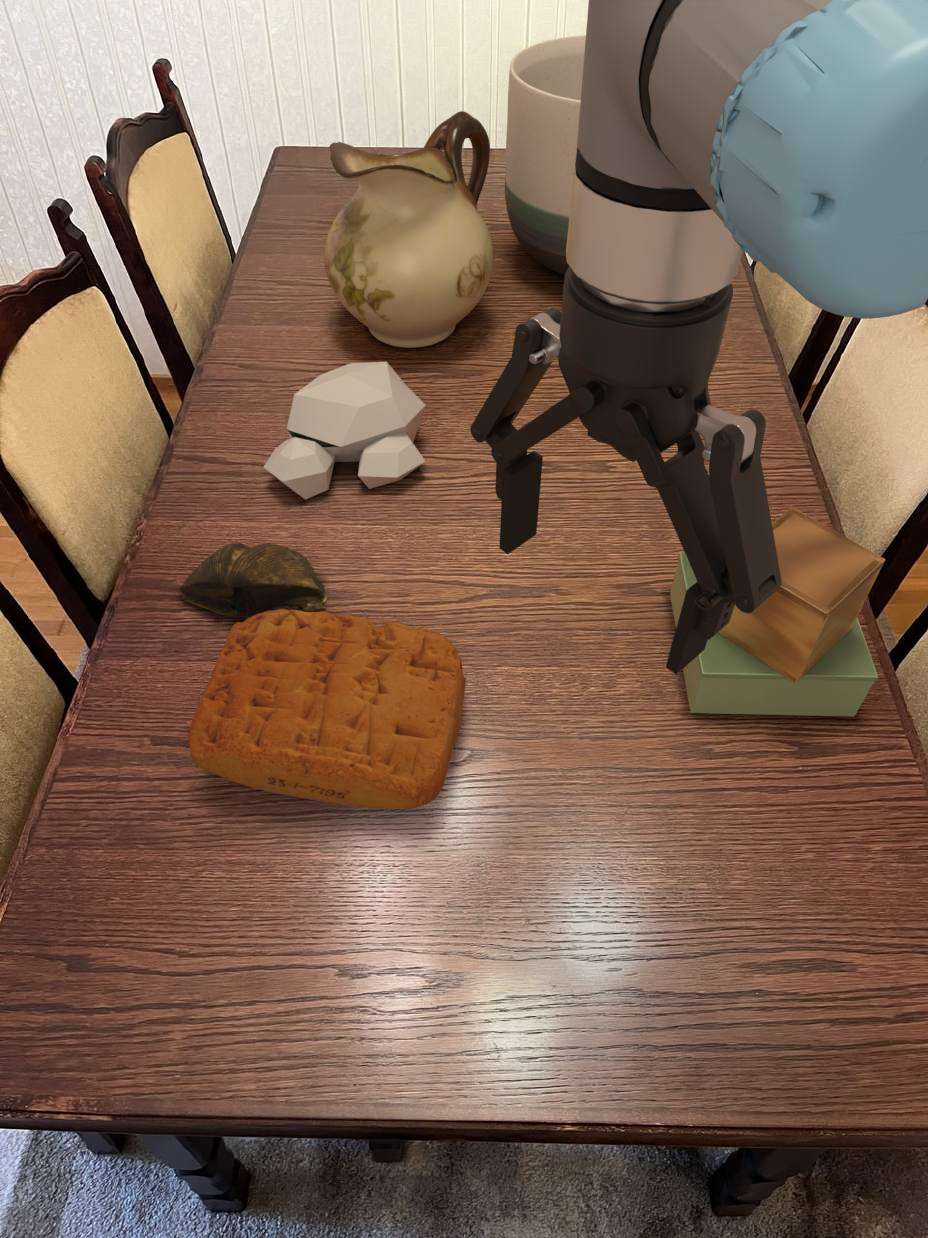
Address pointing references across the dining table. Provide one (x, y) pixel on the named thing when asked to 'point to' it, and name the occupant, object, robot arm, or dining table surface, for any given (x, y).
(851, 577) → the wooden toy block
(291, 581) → the seashell
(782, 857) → the dining table surface
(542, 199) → the planter
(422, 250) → the pitcher
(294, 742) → the cuneiform tablet
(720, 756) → the dining table surface
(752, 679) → the green box
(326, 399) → the rock
